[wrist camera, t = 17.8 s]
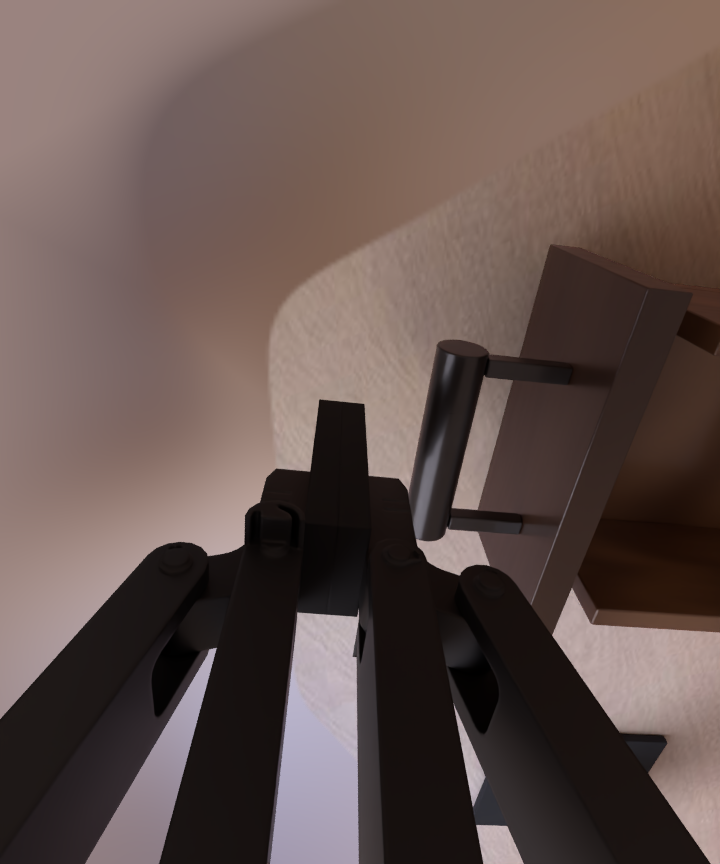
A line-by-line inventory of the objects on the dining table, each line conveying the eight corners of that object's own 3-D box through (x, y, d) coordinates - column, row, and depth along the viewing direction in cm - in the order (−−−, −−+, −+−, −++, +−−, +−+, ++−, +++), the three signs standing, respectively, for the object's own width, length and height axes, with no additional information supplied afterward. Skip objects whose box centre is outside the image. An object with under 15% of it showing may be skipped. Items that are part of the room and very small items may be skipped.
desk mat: (469, 817, 39) (470, 825, 39) (504, 728, 34) (506, 736, 34) (608, 821, 40) (611, 829, 40) (663, 735, 35) (667, 743, 34)
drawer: (384, 514, 24) (397, 635, 18) (432, 230, 18) (476, 267, 12) (779, 545, 26) (913, 665, 20) (941, 291, 20) (1203, 351, 14)
